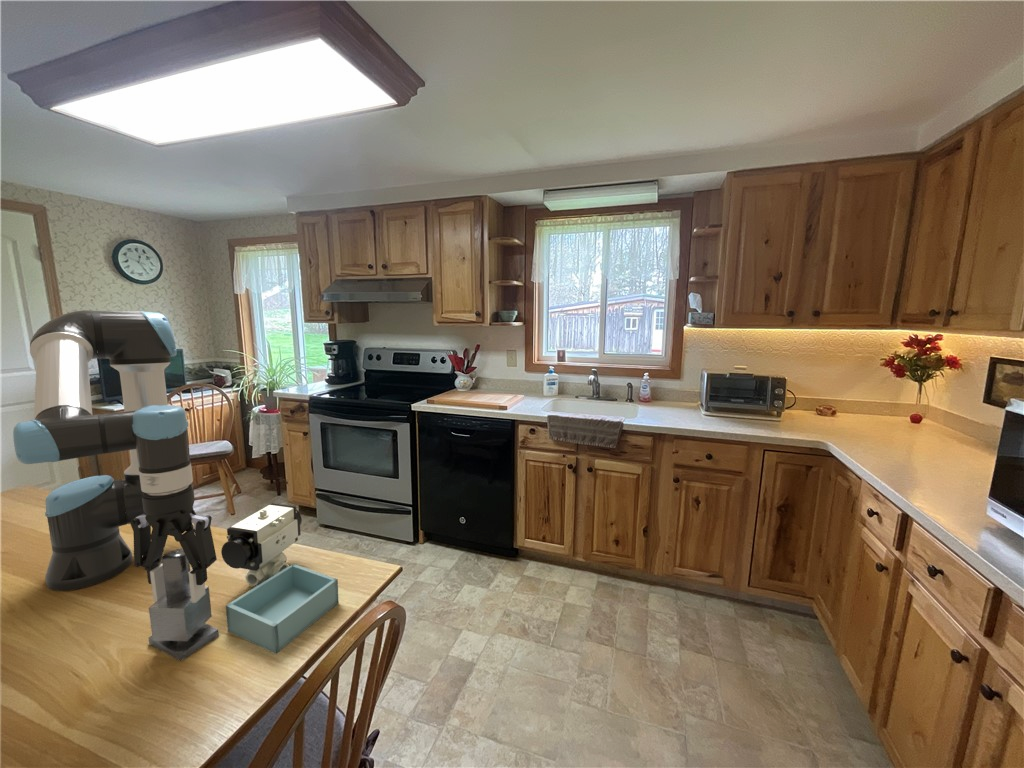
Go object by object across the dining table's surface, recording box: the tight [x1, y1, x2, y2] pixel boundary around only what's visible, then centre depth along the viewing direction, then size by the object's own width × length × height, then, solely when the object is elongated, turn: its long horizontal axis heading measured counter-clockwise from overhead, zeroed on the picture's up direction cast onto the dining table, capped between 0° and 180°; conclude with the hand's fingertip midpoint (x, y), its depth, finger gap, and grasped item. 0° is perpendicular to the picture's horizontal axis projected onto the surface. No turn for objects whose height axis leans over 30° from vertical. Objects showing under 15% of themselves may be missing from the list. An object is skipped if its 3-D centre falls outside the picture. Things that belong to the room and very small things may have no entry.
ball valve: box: [220, 502, 303, 587], centre depth 102 cm, size 18×8×18 cm, turn 168°
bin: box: [225, 563, 340, 655], centre depth 90 cm, size 14×16×6 cm
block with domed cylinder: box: [148, 548, 212, 641], centre depth 81 cm, size 7×7×16 cm
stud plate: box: [148, 622, 220, 662], centre depth 82 cm, size 10×7×9 cm
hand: (179, 597), depth 81 cm, fingers closed on block with domed cylinder, 7 cm apart
